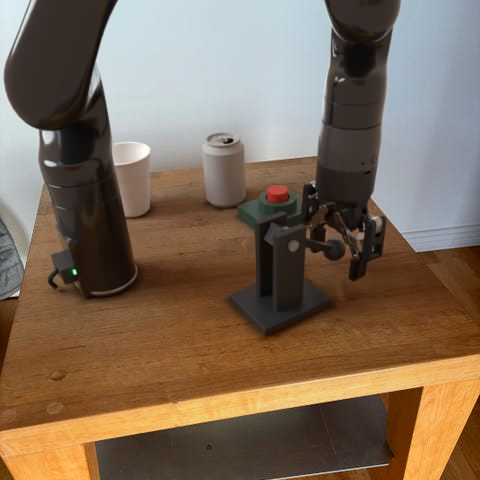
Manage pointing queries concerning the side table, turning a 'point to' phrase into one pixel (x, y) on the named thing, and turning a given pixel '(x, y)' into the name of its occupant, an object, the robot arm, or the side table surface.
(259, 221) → the pivot lever stand
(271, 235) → the switch lever
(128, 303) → the side table surface
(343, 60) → the robot arm
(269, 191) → the power button
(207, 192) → the can
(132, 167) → the cup
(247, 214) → the button base block
